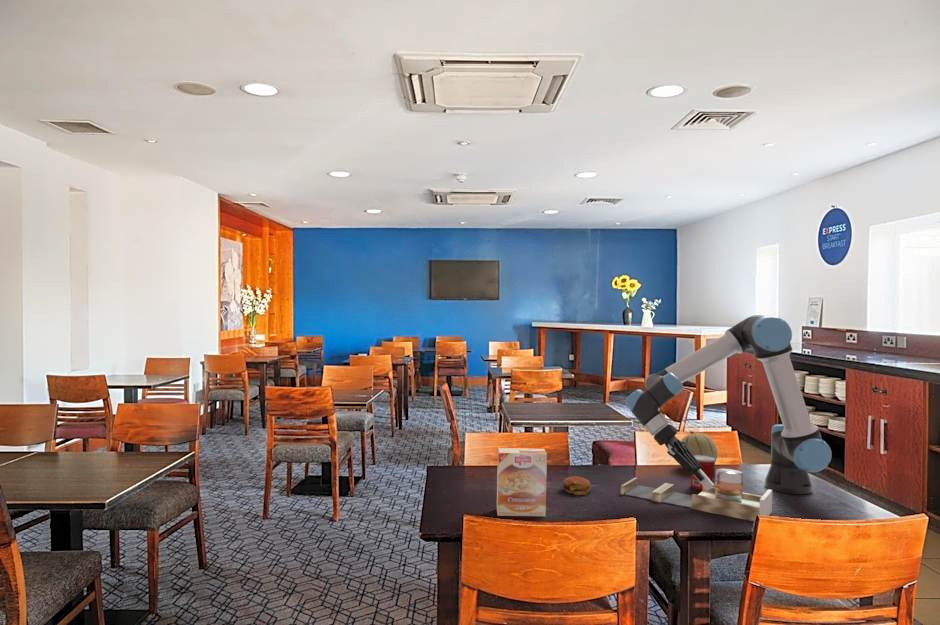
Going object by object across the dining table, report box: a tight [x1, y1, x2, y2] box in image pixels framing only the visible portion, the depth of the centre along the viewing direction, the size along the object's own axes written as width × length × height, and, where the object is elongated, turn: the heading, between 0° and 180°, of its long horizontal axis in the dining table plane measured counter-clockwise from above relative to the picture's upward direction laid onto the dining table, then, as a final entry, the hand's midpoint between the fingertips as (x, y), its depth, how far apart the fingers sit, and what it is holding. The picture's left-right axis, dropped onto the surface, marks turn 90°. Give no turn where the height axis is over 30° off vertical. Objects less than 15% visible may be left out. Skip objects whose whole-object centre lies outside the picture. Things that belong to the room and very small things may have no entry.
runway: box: [620, 477, 763, 522], centre depth 205 cm, size 44×13×4 cm, turn 54°
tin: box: [714, 468, 744, 503], centre depth 199 cm, size 8×8×9 cm
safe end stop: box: [742, 488, 773, 516], centre depth 195 cm, size 12×13×7 cm
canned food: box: [690, 455, 716, 492], centre depth 222 cm, size 8×8×11 cm
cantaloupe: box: [680, 430, 719, 463], centre depth 248 cm, size 15×15×15 cm
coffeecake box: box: [496, 447, 548, 517], centre depth 192 cm, size 15×7×20 cm, turn 90°
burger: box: [562, 475, 592, 496], centre depth 216 cm, size 10×9×5 cm
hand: (710, 487), depth 201 cm, fingers closed
